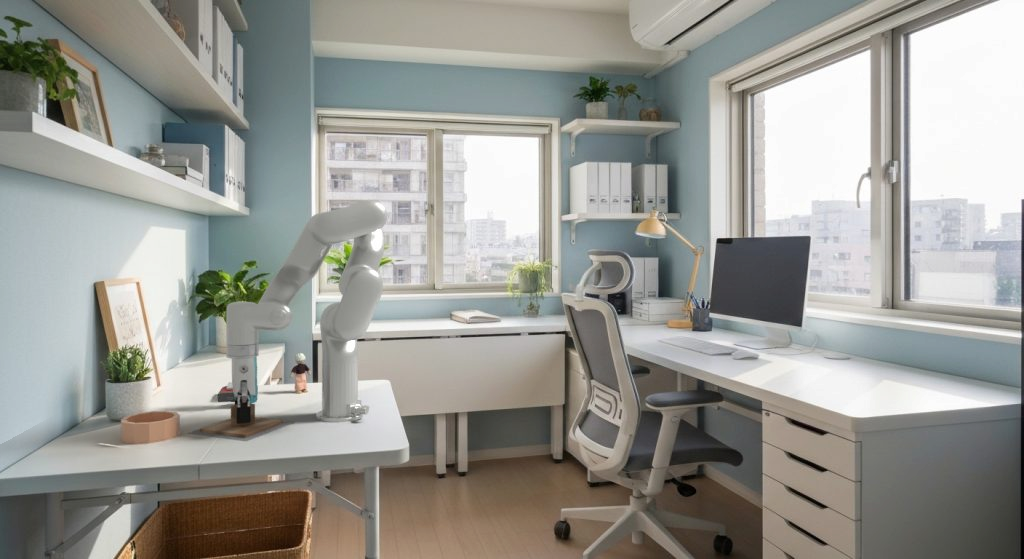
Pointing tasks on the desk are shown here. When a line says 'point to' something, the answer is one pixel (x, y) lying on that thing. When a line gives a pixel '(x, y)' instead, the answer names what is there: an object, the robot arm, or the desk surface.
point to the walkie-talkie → (226, 394)
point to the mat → (197, 432)
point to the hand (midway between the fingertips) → (242, 418)
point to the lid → (242, 425)
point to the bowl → (150, 427)
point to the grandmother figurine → (300, 374)
